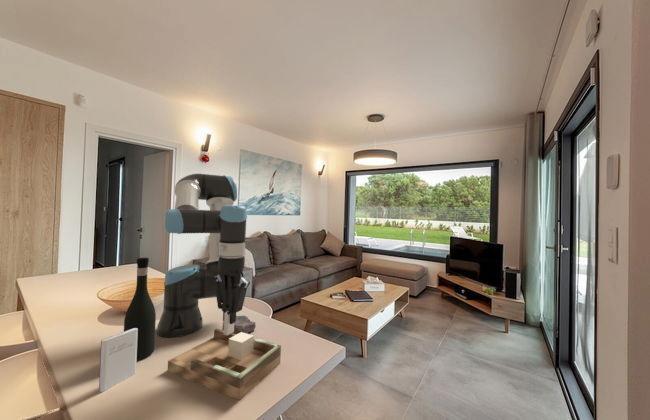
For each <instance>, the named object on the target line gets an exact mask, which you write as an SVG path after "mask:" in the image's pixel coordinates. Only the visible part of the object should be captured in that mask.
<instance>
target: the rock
mask: <svg viewBox="0 0 650 420" xmlns="http://www.w3.org/2000/svg"><path fill="white" fill-rule="evenodd" d="M221 328H222V329H221V330H223V331H224V322H223V321H222V327H221ZM255 329H256V322H255V321H253V320H250V319H249V317H248V316H247V315H236V322H235V323H234V332H233V333H234V334H238V333H240V332H243V333H246V334H249V333H252V332H255Z"/></svg>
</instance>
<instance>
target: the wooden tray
mask: <svg viewBox="0 0 650 420" xmlns="http://www.w3.org/2000/svg"><path fill="white" fill-rule="evenodd" d="M235 335H237V334H234V333H231V334H229V335H228V336H227V335H224V330H223V329H220V328H215V329H214V330H213V337H211V338H210V339H208V340H206V341H204V342H202V343H200V344H198V345H196V346H194V347H192V348H191V349H189V350H187V351H184V352H182V353H181V354H179V355H177V356H175V357H173V358H171V359H169V360H167V372H169V373H171V374H173V375H175V376H178V377H181V378H183V379H186V380H188V381H191V382H193V383H195V384H196V383H197V384H198V385H201V386H204V387H206V388H208V389H211V390H213V391H216V392H218V393H220V394H223V395H225V396H227V397H231V398H233V399H236V400H238V401H241V399H243V398H244V397H246V395H248V393H249V392H250V391H252V390H253V389H254V388H255V387H256V386H257V385H258V384H260V382H262V381H263V380H264V379H265V378H266V377H267V376H269V374H270V373H272V371H273V370H275V369H276V368H277V367H278V366H279V365H280V364H281V354H282V353H281V352H282V344H278V343H274V342H271V341H268V340H264V339H260V338H254V344H253V353H251V354H250V355H249V356H247V357H246V358H244V359H243V360H238V359H236V358H233V357H230V356H228V348H229V338H231V337H233V336H235Z"/></svg>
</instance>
